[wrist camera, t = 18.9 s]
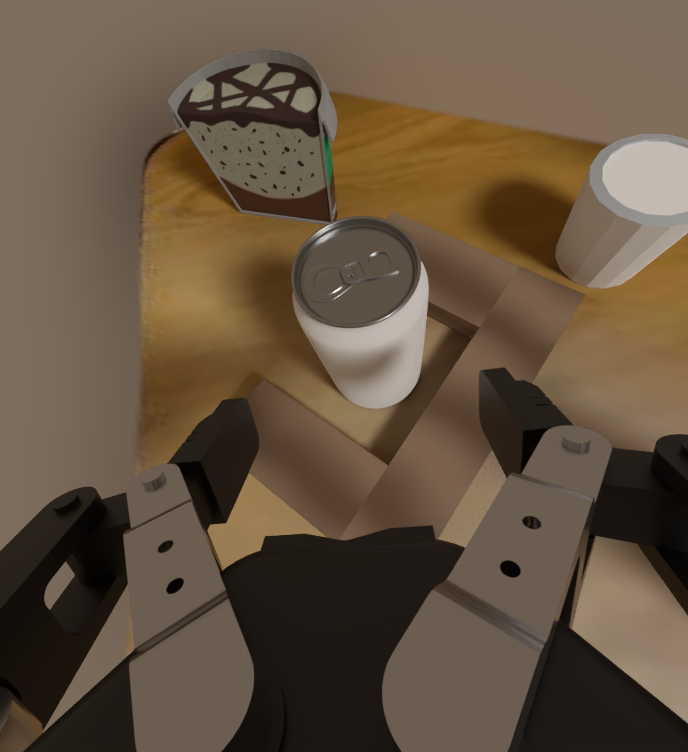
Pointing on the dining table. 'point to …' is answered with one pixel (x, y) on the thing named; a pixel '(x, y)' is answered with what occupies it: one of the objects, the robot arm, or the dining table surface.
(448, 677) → the robot arm
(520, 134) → the dining table surface
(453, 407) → the notched board
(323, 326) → the can
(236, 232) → the dining table surface
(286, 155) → the food container
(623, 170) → the white short cylinder
